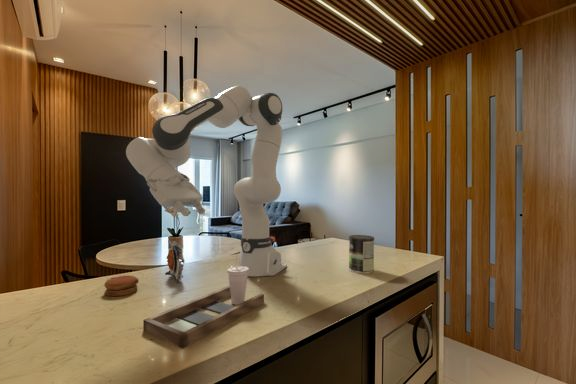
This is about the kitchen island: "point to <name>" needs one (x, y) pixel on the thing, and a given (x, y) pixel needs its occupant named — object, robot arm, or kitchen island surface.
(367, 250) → the coffee can
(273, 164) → the robot arm
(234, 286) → the smoothie
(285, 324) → the kitchen island surface
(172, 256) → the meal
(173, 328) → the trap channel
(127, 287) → the burger
